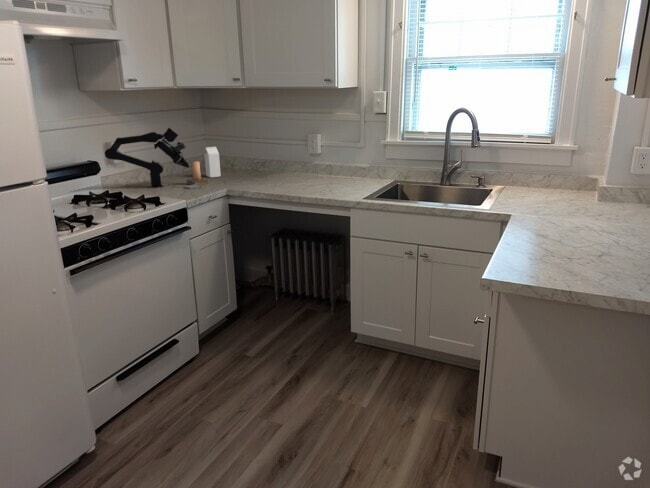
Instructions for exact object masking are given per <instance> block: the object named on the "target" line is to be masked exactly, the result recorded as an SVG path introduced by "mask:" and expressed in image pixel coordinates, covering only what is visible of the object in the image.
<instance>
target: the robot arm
mask: <svg viewBox="0 0 650 488" xmlns="http://www.w3.org/2000/svg"><path fill="white" fill-rule="evenodd" d="M178 136H179V134H178V133H177V132H176V131H174V130H173V129H172V128H171V127H168V128H166V131H164V133H157V132H156V131H150V132H146V133H144V134H139V135H131V136H123V137H119V136H118V137H116V139H115V141H114V142H113V144H112V145H111V146H110V147H107V148H106V149H105V151H104V156H105V157H106V158H107V159H109V160H114V161H122V162H126V163H129V164H132V165H135V166H138V167H140V168H144V169H147V170H148V171H149V175H150V177H149V178H150V185H148V187H150V188H154V189H155V188H160V187H161V188H162V187H164V184H162V181H161V180H162V179H161V174H162V173H163V171H164V165H162V163H160V161H156V160H154V159H151V161H147V160H144V159H140V158H138V157H134V156H131V155H129V154H125V153H123V152H121V151H120V150H118V149H119V148H120V147H121V146H122V145H128V144H134V143H135V144H136V143H153V146H154V149H155V150H156V149H157V148H158V149H160V150H161V151H162V152H163V153H164V154H165V155H167V156H168V157H169V158H170V159H171V160H172V162H173V163H174V164H176V165H178V166H181V167H184V168H187V169H189V168H190V166H189V162H188V161H187V160H186V159H185V158H184V155H183V152H182V151H181V150H184V149H186V145H185V144H184V142H183V141H182V142H181V141H178V142H177V143H176V145H175V146H174V145H172V144H170V143H173V142H174V141H175V140H176V139H177V138H178Z"/></svg>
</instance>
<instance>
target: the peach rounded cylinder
mask: <svg viewBox="0 0 650 488" xmlns="http://www.w3.org/2000/svg"><path fill="white" fill-rule="evenodd" d="M200 163H201V162H200V161H192V162H191V168H192V179H193V180H194V181H198V180H201V178H202V175H201V166H200Z"/></svg>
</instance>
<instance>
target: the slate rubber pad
mask: <svg viewBox="0 0 650 488" xmlns="http://www.w3.org/2000/svg"><path fill="white" fill-rule="evenodd" d="M201 186H202V185H190V184H187V185H184V186H183V188H184V189H187V188H188V190H192V189H193V190H194V189H200V188H201Z"/></svg>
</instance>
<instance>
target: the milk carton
mask: <svg viewBox="0 0 650 488" xmlns="http://www.w3.org/2000/svg"><path fill="white" fill-rule="evenodd" d="M204 150H205V151H204V153H203V155H204V164H205V165H204V166H205V174H206V175H205V176H206V177H208V178H217V177H218V178H219V177H222V176H221V164H220V162H221V161H220V153H219V151H218V148H217V146H207V147H206V146H205V149H204Z"/></svg>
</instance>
